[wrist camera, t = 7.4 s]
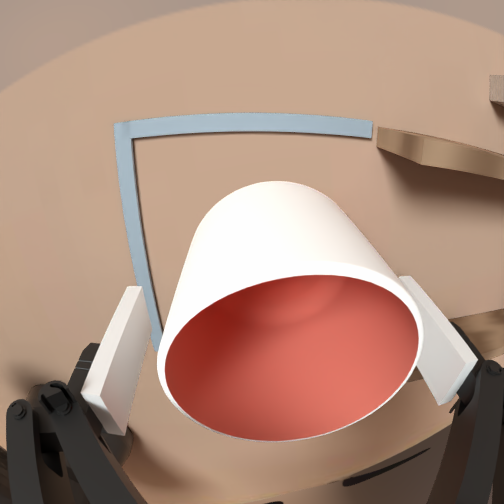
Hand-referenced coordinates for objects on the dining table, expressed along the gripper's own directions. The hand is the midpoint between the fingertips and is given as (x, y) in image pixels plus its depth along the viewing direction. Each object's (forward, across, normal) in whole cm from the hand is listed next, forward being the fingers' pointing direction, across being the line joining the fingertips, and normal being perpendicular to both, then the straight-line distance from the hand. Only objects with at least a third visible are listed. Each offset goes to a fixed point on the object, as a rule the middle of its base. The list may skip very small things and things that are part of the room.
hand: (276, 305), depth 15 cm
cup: (+5, 0, 0) cm, 5 cm away
